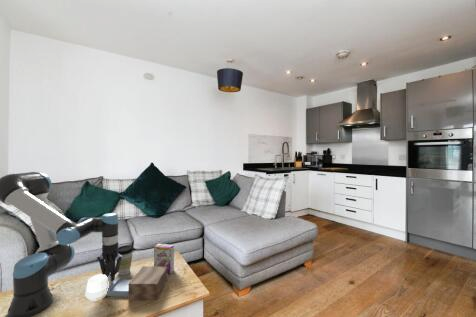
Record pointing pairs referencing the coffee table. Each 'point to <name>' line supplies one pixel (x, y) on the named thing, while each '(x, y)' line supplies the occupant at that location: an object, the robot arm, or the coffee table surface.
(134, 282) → the wooden box
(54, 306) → the coffee table surface
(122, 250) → the coffee cup
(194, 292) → the coffee table surface
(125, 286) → the tray
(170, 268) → the candy bar box
